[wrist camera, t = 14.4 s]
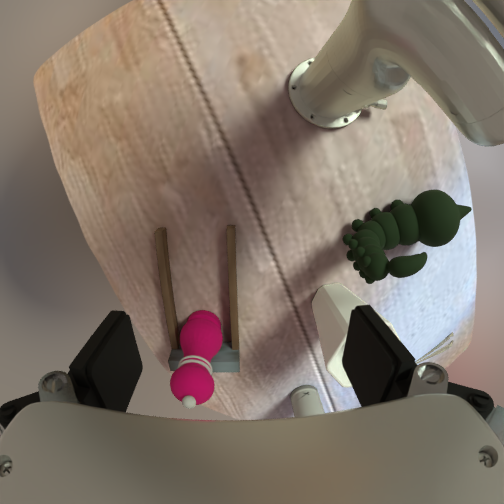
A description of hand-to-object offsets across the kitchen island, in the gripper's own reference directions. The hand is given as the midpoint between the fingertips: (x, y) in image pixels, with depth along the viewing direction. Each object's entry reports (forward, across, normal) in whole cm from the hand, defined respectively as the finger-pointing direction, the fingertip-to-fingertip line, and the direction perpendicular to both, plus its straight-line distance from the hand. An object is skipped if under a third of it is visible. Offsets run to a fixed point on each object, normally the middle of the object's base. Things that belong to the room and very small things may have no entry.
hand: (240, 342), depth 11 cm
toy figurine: (+34, -27, +1) cm, 43 cm away
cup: (+34, -16, +16) cm, 40 cm away
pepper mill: (+34, +7, +20) cm, 40 cm away
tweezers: (+34, -46, +35) cm, 67 cm away
